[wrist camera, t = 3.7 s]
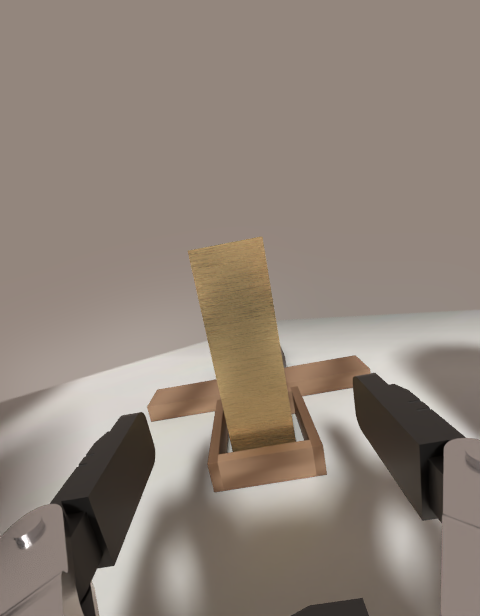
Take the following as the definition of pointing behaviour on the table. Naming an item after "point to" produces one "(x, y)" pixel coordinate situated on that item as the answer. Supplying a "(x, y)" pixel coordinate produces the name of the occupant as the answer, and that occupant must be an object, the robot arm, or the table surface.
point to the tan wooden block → (244, 342)
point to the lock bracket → (273, 459)
